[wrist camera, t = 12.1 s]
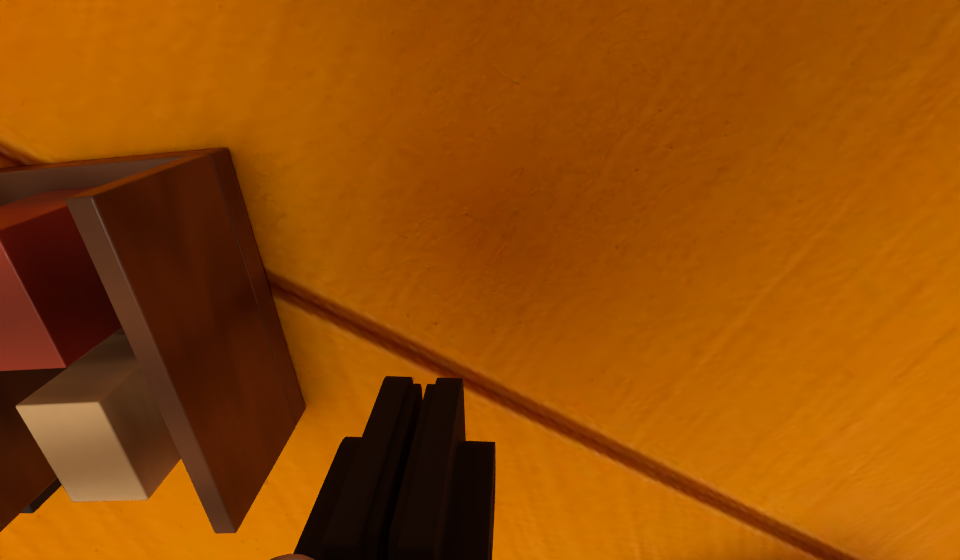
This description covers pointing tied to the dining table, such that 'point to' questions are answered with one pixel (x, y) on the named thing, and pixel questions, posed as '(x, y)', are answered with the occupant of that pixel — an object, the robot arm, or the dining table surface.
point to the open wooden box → (137, 335)
